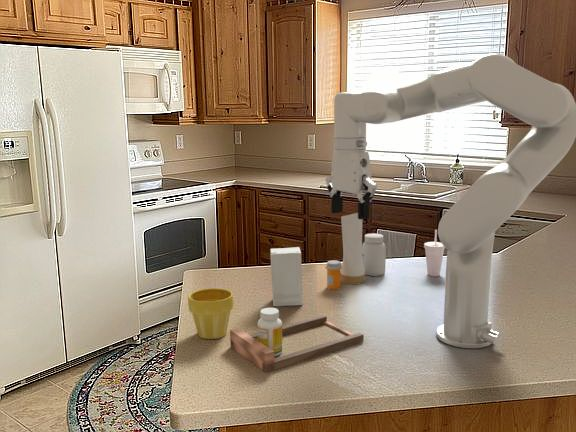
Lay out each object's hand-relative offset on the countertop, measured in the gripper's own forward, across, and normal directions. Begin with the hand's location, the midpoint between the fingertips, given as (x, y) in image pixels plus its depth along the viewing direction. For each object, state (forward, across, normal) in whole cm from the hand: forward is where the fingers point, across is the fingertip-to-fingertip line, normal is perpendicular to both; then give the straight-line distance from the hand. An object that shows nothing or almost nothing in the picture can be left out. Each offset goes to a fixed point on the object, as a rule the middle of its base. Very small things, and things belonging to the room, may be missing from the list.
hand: (349, 215), depth 140 cm
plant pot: (+26, +11, +33) cm, 44 cm away
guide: (+26, -6, +20) cm, 34 cm away
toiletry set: (+26, +22, -22) cm, 40 cm away
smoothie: (+26, +11, -44) cm, 52 cm away
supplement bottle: (+26, -6, +28) cm, 39 cm away
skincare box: (+26, +18, +7) cm, 32 cm away
